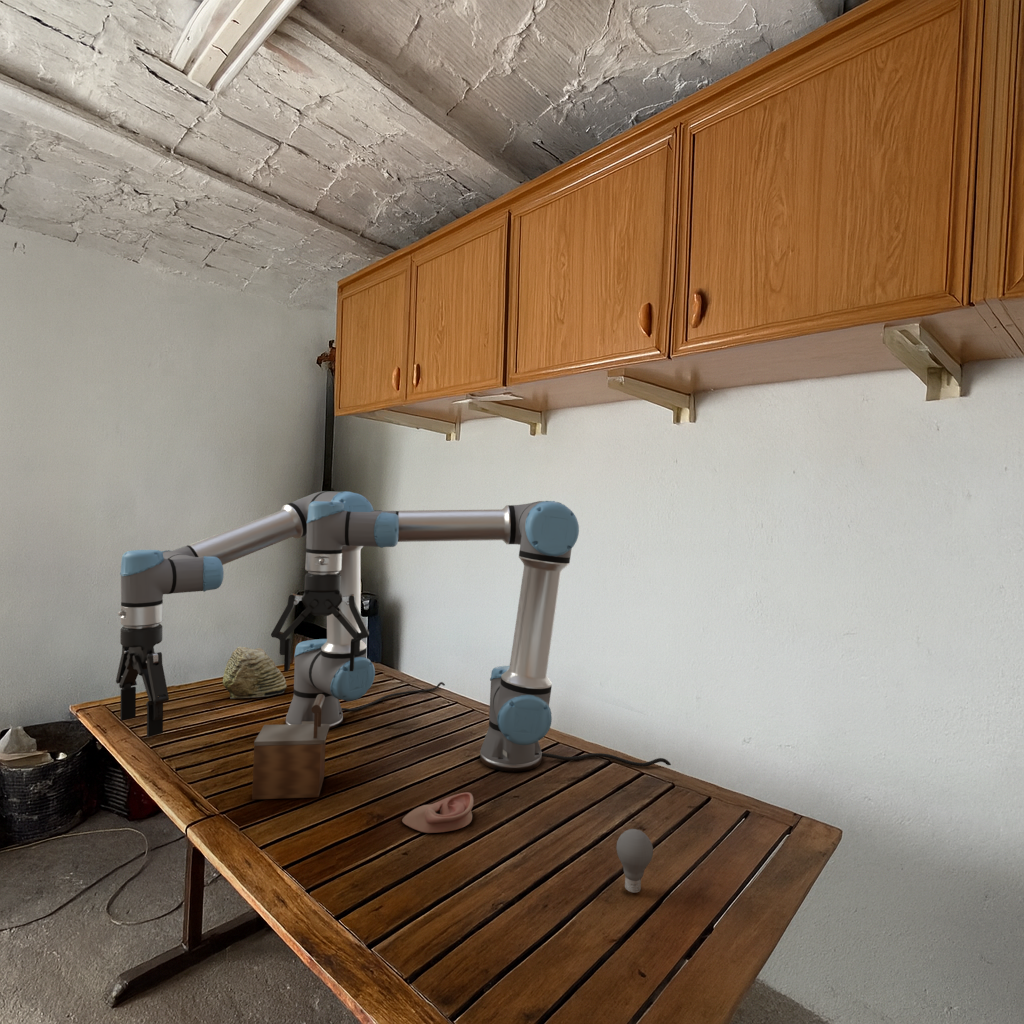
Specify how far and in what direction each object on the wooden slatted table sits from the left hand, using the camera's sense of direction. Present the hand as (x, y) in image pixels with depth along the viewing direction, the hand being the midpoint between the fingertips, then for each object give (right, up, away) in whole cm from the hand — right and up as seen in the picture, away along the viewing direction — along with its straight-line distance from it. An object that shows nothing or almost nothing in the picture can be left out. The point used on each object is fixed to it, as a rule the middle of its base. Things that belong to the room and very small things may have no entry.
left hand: (141, 726), depth 132 cm
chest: (+29, -15, +5) cm, 33 cm away
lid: (+30, -4, +5) cm, 31 cm away
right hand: (+35, +10, +6) cm, 37 cm away
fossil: (-3, -13, +66) cm, 68 cm away
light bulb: (+97, -19, -26) cm, 103 cm away
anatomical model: (+62, -17, -5) cm, 65 cm away
